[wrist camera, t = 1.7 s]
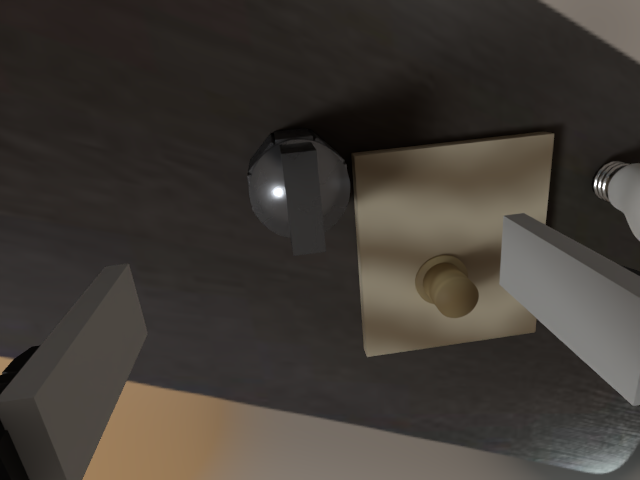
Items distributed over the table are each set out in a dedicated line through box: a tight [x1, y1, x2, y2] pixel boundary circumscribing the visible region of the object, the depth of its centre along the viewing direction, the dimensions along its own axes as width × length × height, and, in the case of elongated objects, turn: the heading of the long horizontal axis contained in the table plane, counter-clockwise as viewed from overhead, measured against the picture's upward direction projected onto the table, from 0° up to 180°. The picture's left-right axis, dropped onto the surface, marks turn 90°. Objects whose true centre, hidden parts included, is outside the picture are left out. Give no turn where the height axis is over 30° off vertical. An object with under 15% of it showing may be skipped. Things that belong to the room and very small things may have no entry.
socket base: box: [351, 131, 554, 357], centre depth 32 cm, size 16×14×4 cm
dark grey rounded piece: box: [247, 128, 350, 256], centre depth 27 cm, size 6×6×8 cm
